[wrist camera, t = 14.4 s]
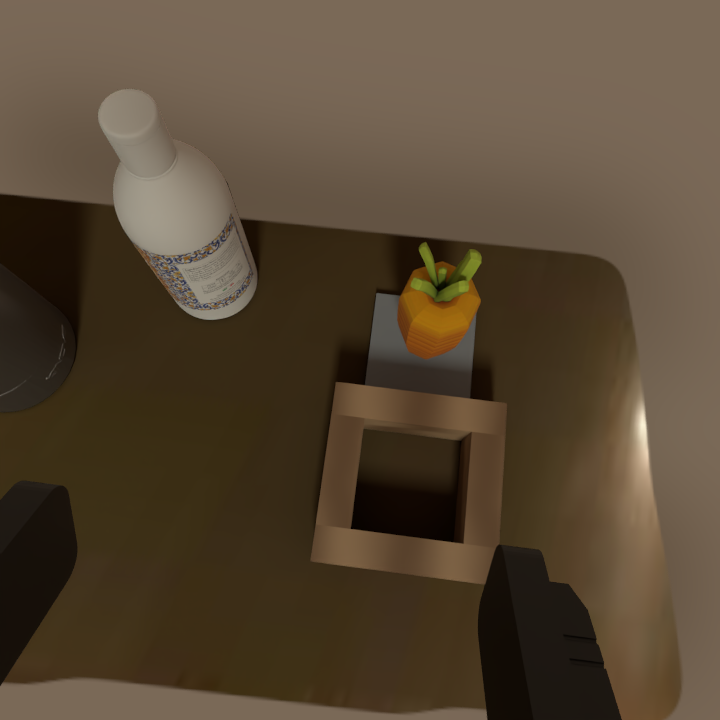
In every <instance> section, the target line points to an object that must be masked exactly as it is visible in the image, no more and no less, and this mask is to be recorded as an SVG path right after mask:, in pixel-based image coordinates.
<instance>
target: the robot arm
mask: <svg viewBox="0 0 720 720" xmlns="http://www.w3.org/2000/svg"><path fill="white" fill-rule="evenodd" d="M75 351H76V344H75V335H74V332H73V329H72V326H71V324H70V323H69V321H68V319H67V318H66V316H65V315H64V314H63V313H62V312H61V311H60V310H59V309H58V308H56V307H55V306H54V305H52V304H51V303H50V302H49V301H47V300H46V299H45V298H44V297H42V296H41V295H40V294H39V293H37V292H36V291H35V290H34V289H33V288H31V287H30V286H29V285H27V284H26V283H25V282H24V281H22V280H21V279H20V278H19V277H17V276H16V275H15V274H13V273H12V272H11V271H10V270H8V269H7V268H6V267H5V266H3V265H2V264H1V263H0V412H13V411H19V410H23V409H26V408H30V407H32V406H34V405H36V404H38V403H40V402H42V401H43V400H45V399H46V398H47V397H49V396H50V395H52V394H53V393H54V392H55V391H56V390H57V389H58V388H59V387H60V385H61V384H62V383H63V382H64V380H65V378H66V377H67V375H68V374H69V372H70V369H71V367H72V364H73V362H74V357H75ZM76 557H77V540H76V534H75V528H74V522H73V516H72V511H71V505H70V499H69V494H68V491H67V489H66V488H65V487H64V486H61V485H53V484H45V483H38V482H30V481H20V482H18V483H16V484H15V485H14V486H13V487H12V488H11V489H10V490H9V491H8V492H7V493H6V494H5V495H4V497H3V498H2V499H1V500H0V686H1V684H2V683H3V681H4V679H5V678H6V676H7V675H8V673H9V672H10V670H11V669H12V667H13V665H14V664H15V662H16V661H17V659H18V658H19V656H20V654H21V653H22V651H23V650H24V648H25V647H26V645H27V644H28V642H29V640H30V639H31V637H32V636H33V634H34V633H35V631H36V630H37V628H38V626H39V625H40V623H41V622H42V620H43V619H44V617H45V615H46V614H47V612H48V611H49V609H50V608H51V606H52V605H53V603H54V601H55V600H56V598H57V597H58V595H59V594H60V592H61V591H62V589H63V587H64V586H65V584H66V583H67V581H68V579H69V578H70V576H71V574H72V571H73V569H74V565H75V562H76ZM478 638H479V647H480V656H481V665H482V674H483V683H484V692H485V701H486V710H487V719H488V720H622V719H621V716H620V713H619V709H618V706H617V703H616V700H615V697H614V693H613V690H612V687H611V684H610V680H609V677H608V674H607V671H606V669H604V661H603V658H602V655H601V651H600V648H599V645H598V644H597V643H596V639H597V638H596V635H595V632H594V629H593V626H592V622H591V619H590V616H589V613H588V610H587V609H586V607H585V606H584V604H583V603H582V602H581V600H580V599H579V598H578V596H577V595H576V594H575V592H574V591H573V590H572V588H571V587H570V586H569V584H564V583H556V582H550V581H549V577H548V573H547V569H546V566H545V562H544V558H543V555H542V553H541V551H540V550H536V549H529V548H521V547H513V546H506V545H497V547H496V549H495V552H494V555H493V558H492V562H491V565H490V569H489V572H488V576H487V579H486V583H485V586H484V590H483V593H482V597H481V601H480V606H479V614H478Z"/></svg>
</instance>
